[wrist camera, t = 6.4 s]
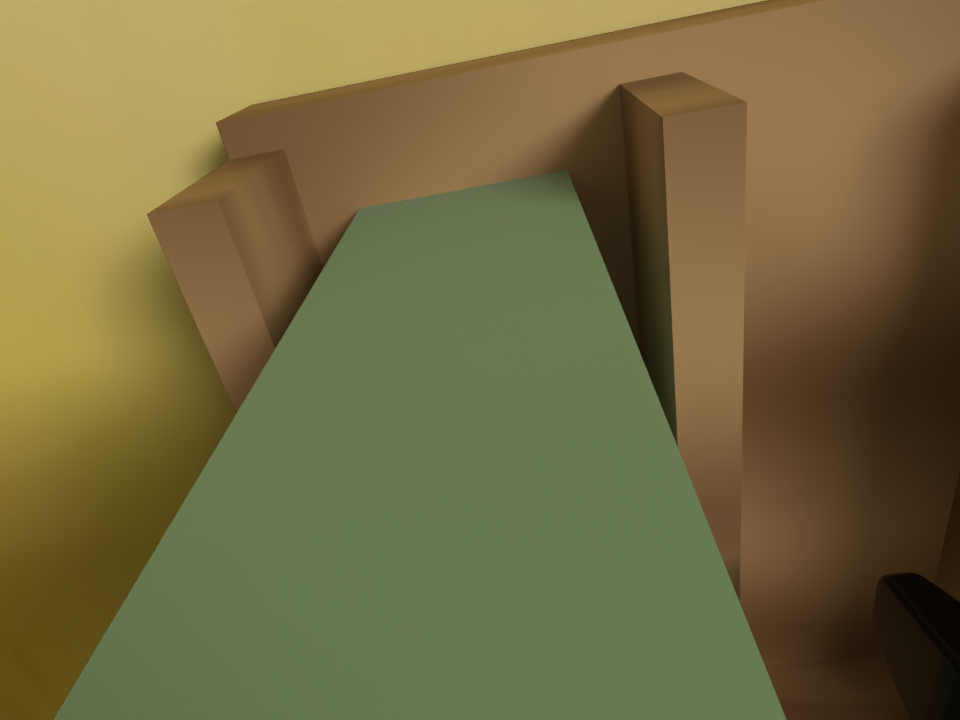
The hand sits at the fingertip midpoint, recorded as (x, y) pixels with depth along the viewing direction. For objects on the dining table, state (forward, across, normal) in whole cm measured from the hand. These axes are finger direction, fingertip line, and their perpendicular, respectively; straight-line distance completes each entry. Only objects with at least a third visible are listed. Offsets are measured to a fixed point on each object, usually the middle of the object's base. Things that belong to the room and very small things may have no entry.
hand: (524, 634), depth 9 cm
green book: (+4, 0, 0) cm, 4 cm away
